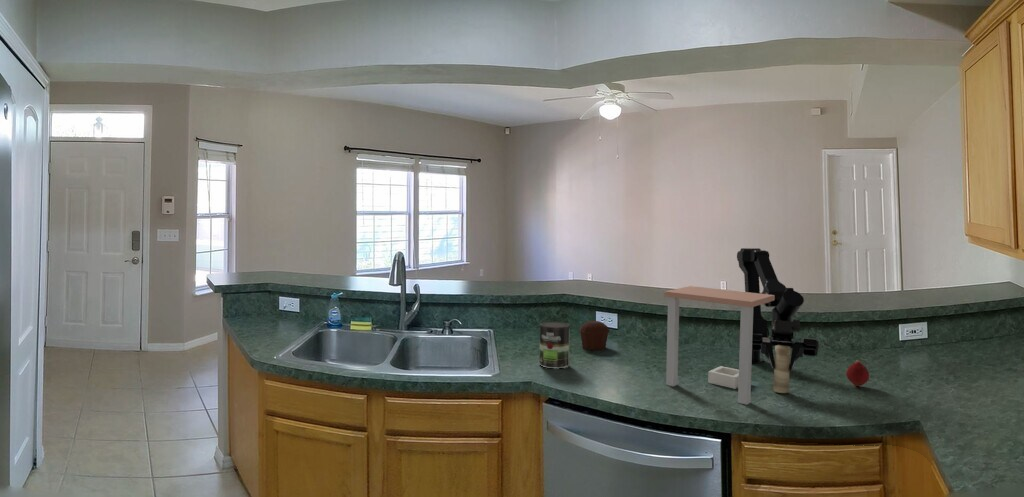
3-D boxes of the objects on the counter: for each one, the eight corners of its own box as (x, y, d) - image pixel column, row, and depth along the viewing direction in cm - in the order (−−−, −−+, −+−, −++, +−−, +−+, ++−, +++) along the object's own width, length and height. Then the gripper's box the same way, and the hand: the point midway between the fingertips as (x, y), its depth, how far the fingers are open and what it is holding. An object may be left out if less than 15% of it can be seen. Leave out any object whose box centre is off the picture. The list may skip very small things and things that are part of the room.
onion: (865, 384, 172) (867, 358, 171) (870, 390, 166) (872, 363, 166) (843, 382, 174) (845, 357, 173) (848, 388, 168) (849, 361, 168)
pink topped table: (688, 373, 183) (690, 286, 181) (771, 392, 164) (774, 295, 162) (662, 384, 172) (664, 291, 169) (748, 406, 153) (751, 301, 151)
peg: (776, 387, 167) (778, 344, 166) (790, 390, 164) (792, 346, 163) (771, 390, 164) (772, 346, 163) (785, 394, 162) (787, 349, 161)
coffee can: (564, 370, 186) (564, 328, 185) (534, 367, 190) (535, 325, 189) (573, 362, 196) (573, 322, 195) (544, 359, 200) (545, 320, 198)
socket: (720, 376, 180) (720, 366, 179) (746, 382, 174) (747, 371, 173) (708, 382, 174) (708, 371, 173) (735, 388, 168) (735, 377, 167)
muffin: (577, 350, 212) (578, 324, 212) (579, 343, 223) (579, 318, 222) (610, 352, 210) (610, 325, 210) (609, 344, 221) (610, 319, 220)
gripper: (748, 306, 170) (747, 351, 161) (819, 311, 163) (821, 358, 153) (748, 327, 178) (746, 371, 169) (815, 332, 170) (817, 379, 161)
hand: (782, 369), depth 163 cm, fingers closed on peg, 4 cm apart
